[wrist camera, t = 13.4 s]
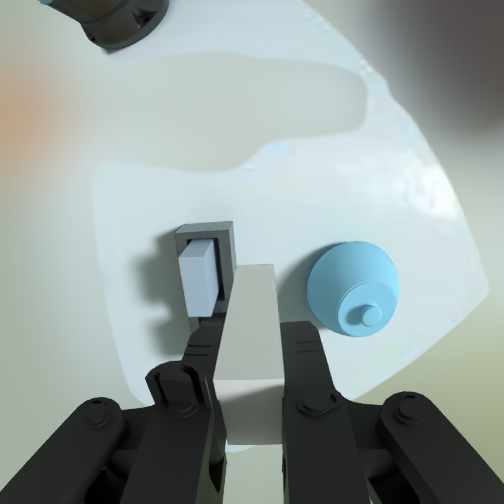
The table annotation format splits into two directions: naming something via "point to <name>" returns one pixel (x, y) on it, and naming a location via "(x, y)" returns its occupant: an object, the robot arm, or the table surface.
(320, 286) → the sugar bowl
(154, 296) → the table surface
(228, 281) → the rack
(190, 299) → the panel
